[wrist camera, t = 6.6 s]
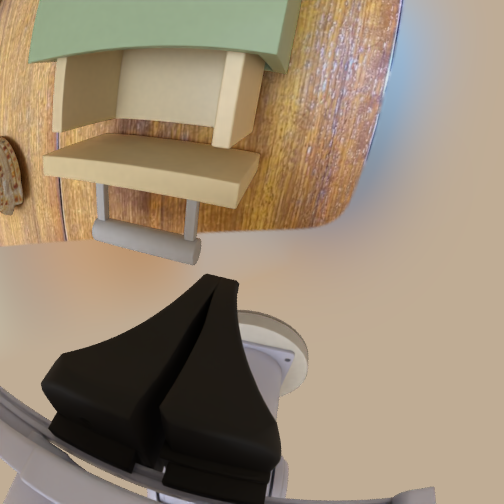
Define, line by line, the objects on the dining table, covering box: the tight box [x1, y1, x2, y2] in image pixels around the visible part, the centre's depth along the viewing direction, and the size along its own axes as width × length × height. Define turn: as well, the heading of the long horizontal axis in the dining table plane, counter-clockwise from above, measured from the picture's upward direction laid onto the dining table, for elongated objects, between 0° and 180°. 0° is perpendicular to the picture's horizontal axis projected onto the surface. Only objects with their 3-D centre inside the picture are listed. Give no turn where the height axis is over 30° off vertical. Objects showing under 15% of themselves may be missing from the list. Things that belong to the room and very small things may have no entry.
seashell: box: [0, 137, 23, 215], centre depth 21 cm, size 8×6×8 cm
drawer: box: [43, 48, 265, 265], centre depth 14 cm, size 18×11×7 cm, turn 170°
